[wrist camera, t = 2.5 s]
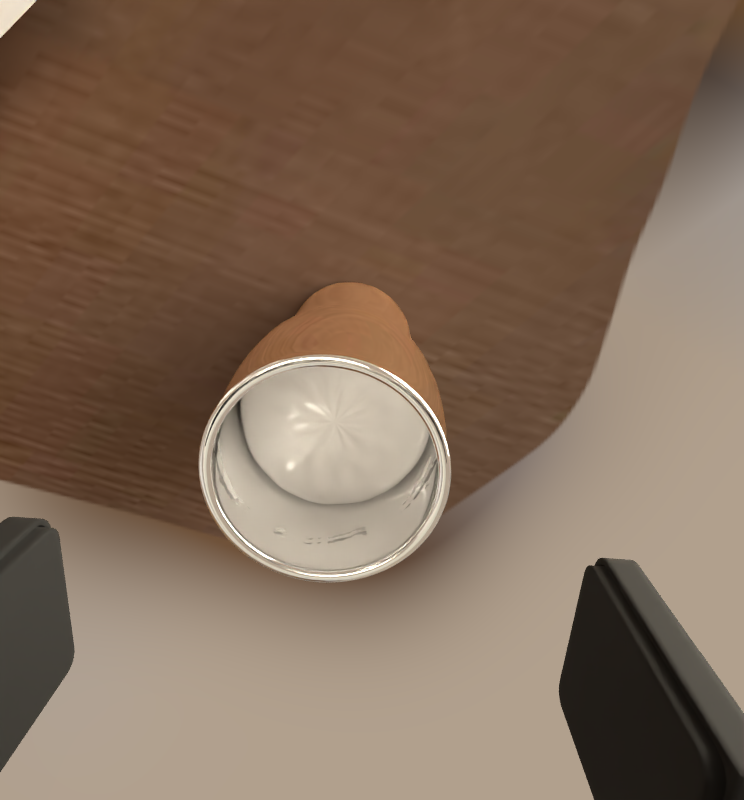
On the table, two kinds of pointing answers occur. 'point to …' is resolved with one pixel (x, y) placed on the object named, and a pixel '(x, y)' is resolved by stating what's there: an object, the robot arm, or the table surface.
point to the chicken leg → (12, 12)
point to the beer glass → (329, 442)
